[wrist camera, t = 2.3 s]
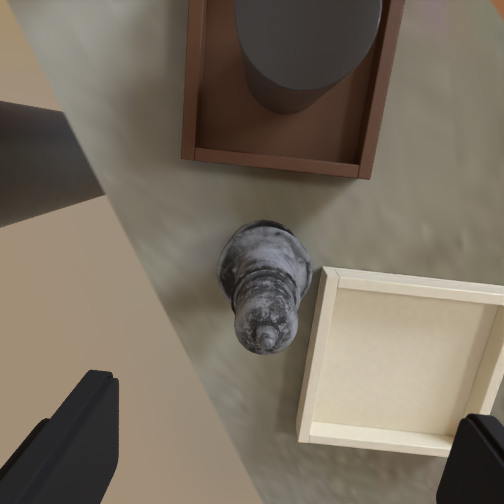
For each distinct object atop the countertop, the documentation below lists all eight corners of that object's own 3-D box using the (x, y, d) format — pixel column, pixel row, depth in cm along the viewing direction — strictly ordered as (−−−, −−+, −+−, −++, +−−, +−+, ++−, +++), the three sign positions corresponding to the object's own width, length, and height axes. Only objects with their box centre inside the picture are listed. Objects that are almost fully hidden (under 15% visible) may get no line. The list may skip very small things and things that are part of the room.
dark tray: (187, 158, 24) (180, 159, 22) (198, -51, 21) (192, -72, 19) (361, 177, 24) (370, 179, 22) (400, -28, 21) (414, -46, 19)
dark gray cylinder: (241, 109, 23) (227, 82, 13) (249, 18, 21) (241, -89, 12) (321, 118, 23) (366, 97, 13) (335, 28, 21) (397, -70, 12)
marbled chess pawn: (322, 255, 26) (374, 344, 14) (265, 310, 27) (269, 433, 15) (261, 198, 25) (263, 244, 13) (205, 258, 26) (161, 349, 14)
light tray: (295, 423, 30) (297, 442, 28) (322, 265, 26) (327, 275, 24) (460, 440, 30) (473, 460, 28) (510, 286, 26) (530, 297, 24)
